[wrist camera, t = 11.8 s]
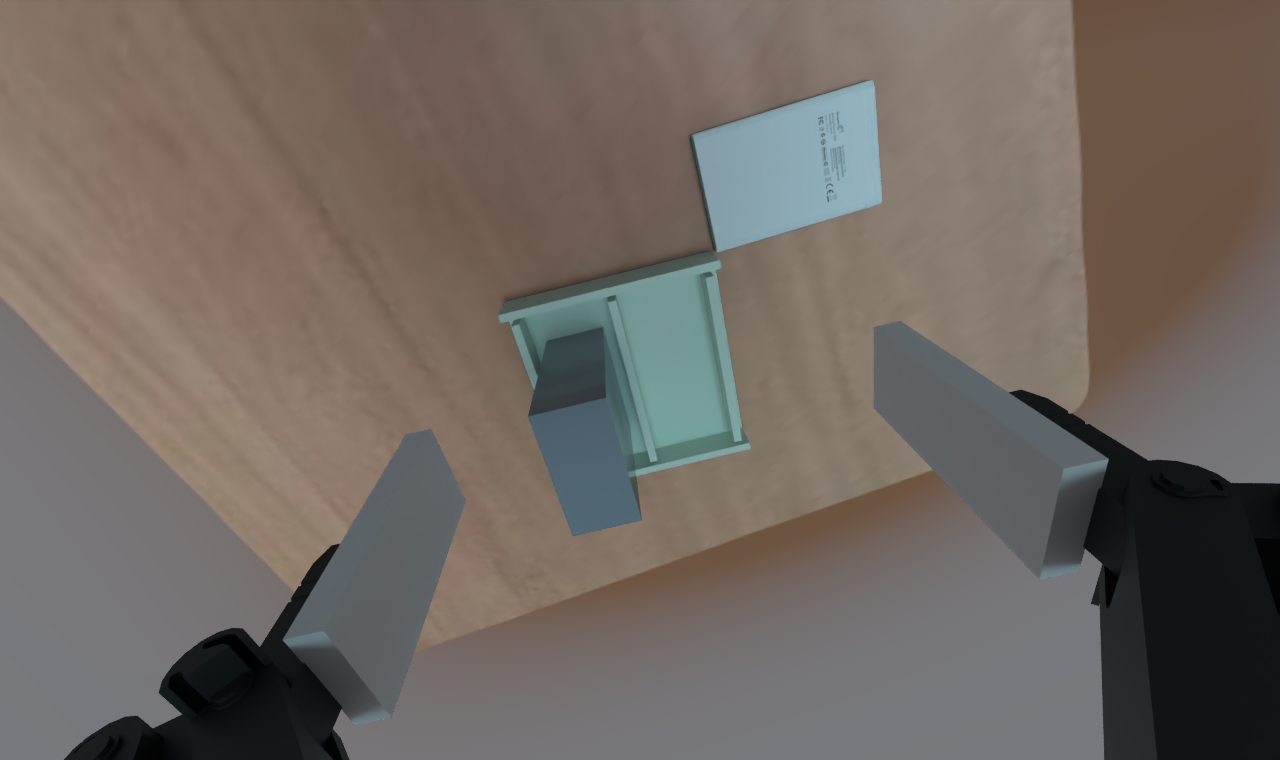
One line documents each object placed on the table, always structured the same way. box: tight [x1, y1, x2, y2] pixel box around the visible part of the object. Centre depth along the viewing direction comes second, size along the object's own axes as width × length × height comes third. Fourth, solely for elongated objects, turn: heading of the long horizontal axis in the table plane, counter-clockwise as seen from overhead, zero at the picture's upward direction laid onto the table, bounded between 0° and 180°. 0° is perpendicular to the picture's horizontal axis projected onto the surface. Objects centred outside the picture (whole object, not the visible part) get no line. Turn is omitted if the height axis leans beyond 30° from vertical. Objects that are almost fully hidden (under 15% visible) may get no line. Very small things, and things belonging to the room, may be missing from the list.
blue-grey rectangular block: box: [528, 327, 642, 536], centre depth 36 cm, size 9×4×12 cm, turn 13°
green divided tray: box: [498, 251, 751, 476], centre depth 40 cm, size 16×16×3 cm
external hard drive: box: [690, 80, 882, 252], centre depth 36 cm, size 2×8×12 cm
